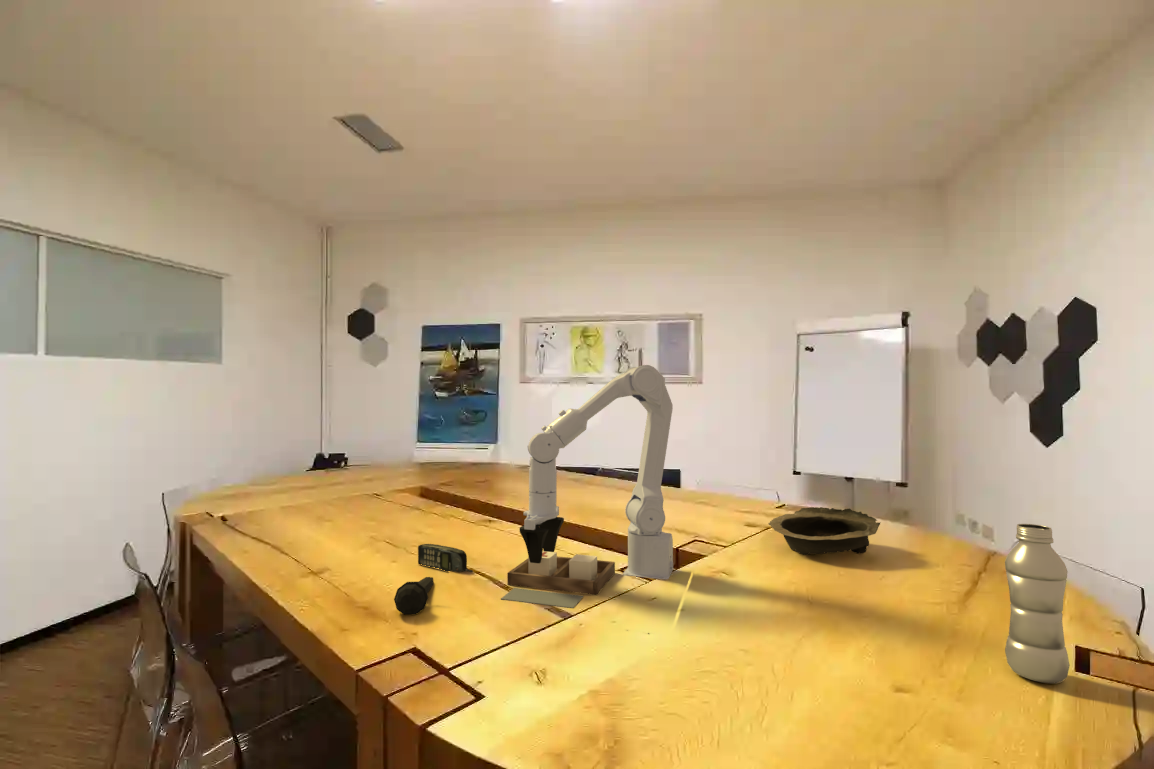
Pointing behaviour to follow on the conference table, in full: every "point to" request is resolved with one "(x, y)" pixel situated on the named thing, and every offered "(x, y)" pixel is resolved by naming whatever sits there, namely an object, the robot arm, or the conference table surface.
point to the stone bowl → (826, 530)
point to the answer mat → (543, 597)
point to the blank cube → (583, 567)
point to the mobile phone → (442, 557)
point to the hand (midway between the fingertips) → (542, 557)
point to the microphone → (413, 596)
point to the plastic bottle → (1036, 607)
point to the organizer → (562, 578)
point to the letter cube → (544, 564)
